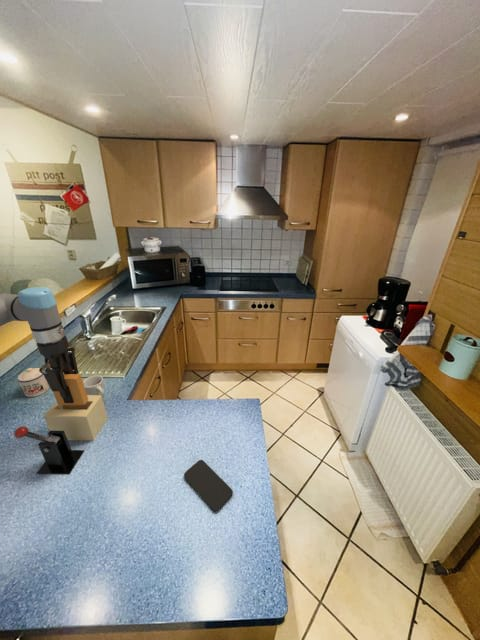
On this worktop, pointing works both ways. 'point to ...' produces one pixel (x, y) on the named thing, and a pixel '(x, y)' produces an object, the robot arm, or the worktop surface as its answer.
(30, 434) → the lever
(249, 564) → the worktop surface
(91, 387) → the cup
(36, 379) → the teacup with lid
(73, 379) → the toast
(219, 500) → the phone
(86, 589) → the worktop surface
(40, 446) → the toaster lever bracket
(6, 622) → the worktop surface
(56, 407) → the toaster
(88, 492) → the worktop surface
